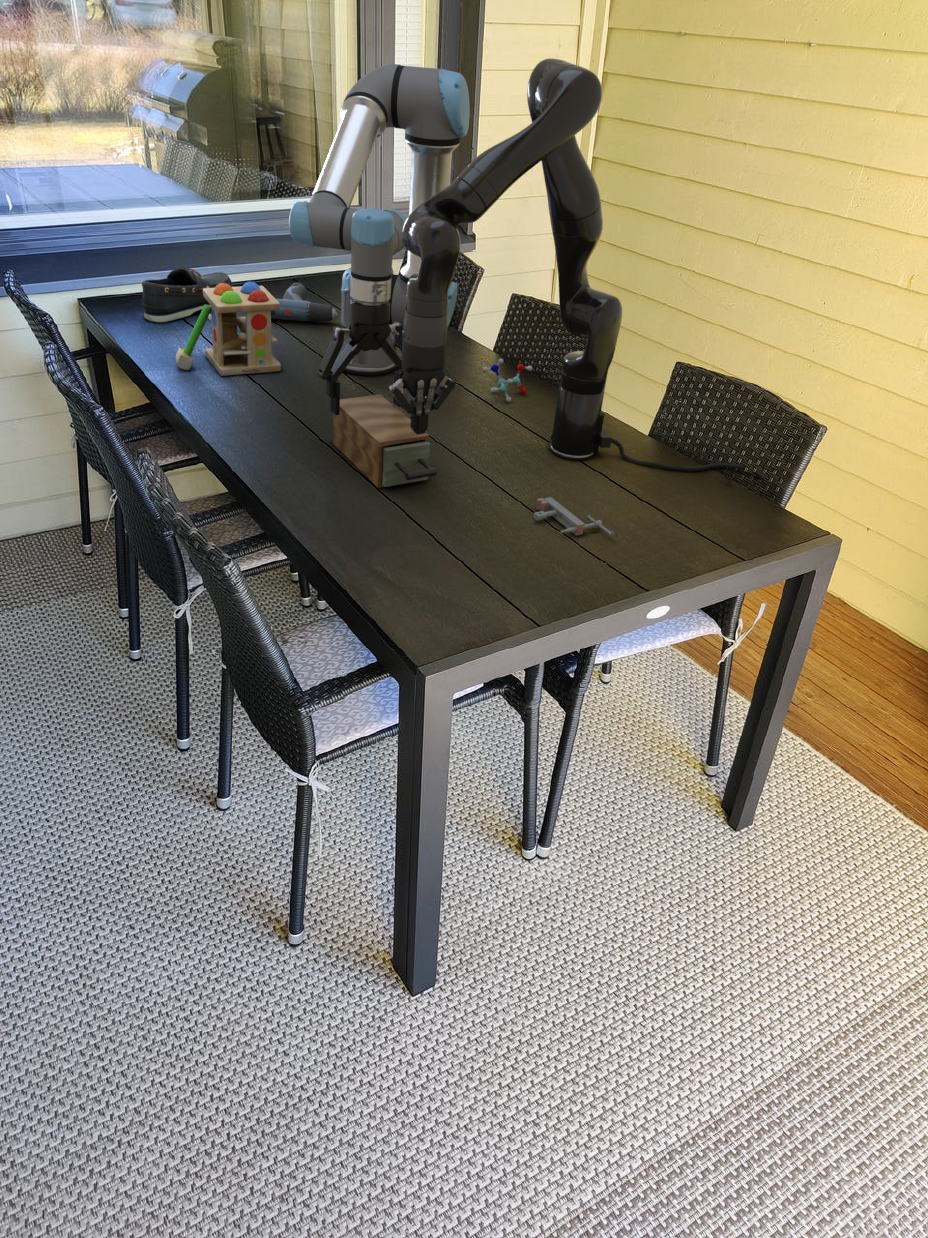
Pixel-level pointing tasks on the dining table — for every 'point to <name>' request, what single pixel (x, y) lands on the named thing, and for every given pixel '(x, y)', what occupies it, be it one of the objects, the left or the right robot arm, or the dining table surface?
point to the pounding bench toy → (229, 347)
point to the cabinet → (370, 432)
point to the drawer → (406, 463)
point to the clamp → (565, 517)
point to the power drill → (301, 307)
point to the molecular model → (503, 383)
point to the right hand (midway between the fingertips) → (418, 432)
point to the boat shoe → (178, 294)
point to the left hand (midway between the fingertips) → (366, 408)
